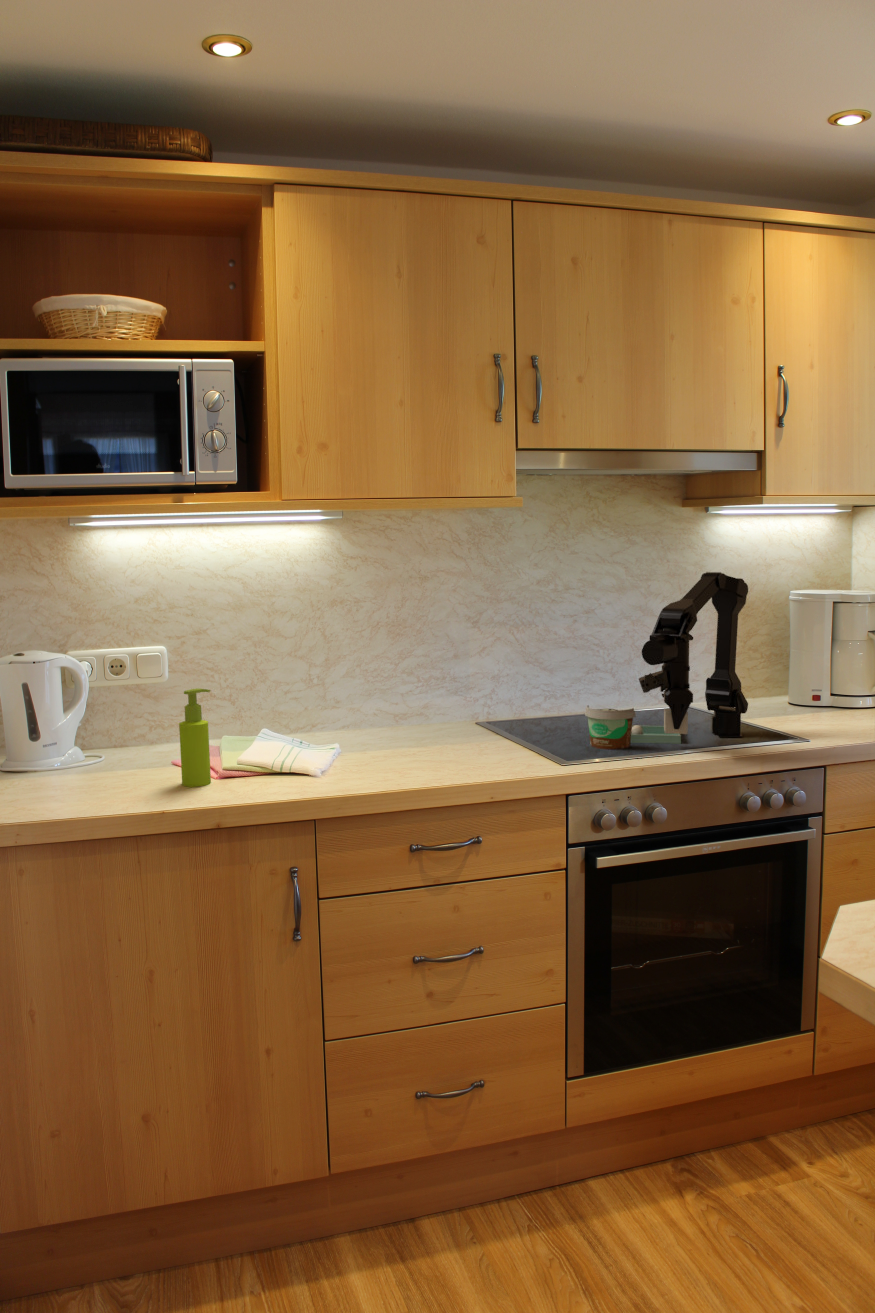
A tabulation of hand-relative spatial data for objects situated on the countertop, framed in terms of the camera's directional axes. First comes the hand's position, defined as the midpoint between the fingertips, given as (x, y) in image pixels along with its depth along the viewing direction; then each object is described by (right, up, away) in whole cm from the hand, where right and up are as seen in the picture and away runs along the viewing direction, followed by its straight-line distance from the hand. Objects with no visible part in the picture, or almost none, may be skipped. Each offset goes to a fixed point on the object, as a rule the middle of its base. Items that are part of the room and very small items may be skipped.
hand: (675, 727), depth 219 cm
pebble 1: (-6, -4, +16) cm, 17 cm away
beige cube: (0, -1, 0) cm, 1 cm away
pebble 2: (-6, -4, +12) cm, 14 cm away
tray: (-3, -4, +13) cm, 14 cm away
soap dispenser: (-106, -10, -21) cm, 109 cm away
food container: (-16, -6, +4) cm, 17 cm away
